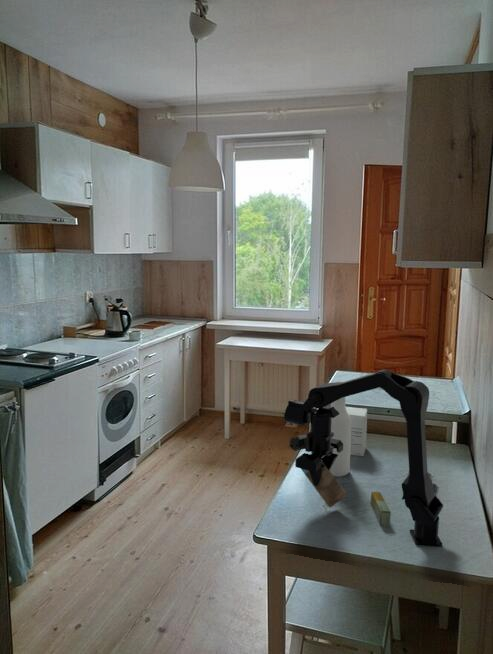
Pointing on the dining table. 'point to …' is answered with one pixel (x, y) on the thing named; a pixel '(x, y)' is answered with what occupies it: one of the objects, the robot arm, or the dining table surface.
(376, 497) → the medication box
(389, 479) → the dining table surface
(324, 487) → the wooden block
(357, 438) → the supplement box
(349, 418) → the alcohol
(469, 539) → the dining table surface
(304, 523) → the dining table surface
